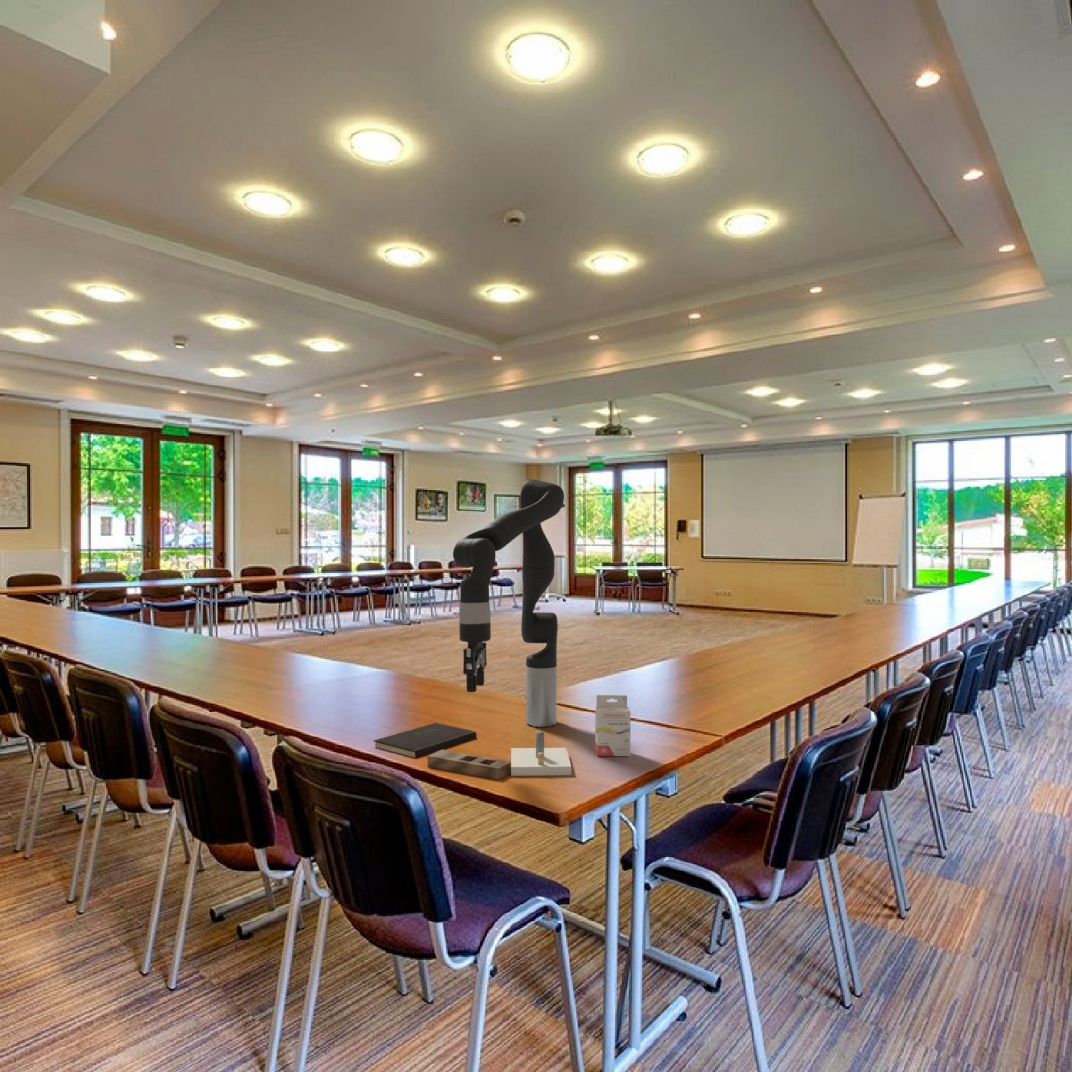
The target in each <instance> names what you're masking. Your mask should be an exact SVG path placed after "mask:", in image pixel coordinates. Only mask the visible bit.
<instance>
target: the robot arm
mask: <svg viewBox="0 0 1072 1072" xmlns="http://www.w3.org/2000/svg"><path fill="white" fill-rule="evenodd" d="M519 495H520V496H519V505H520V509H516V510H512V511H508V512H506V513H504V514H501V515H499V516H497V517H496V518H495V519H493V520H492V521H491V522H489V523H487V525H485V526H484V527H483V528H481V529H478V530H476V531H474V532H472V533H470V534H467V535H465V536H464V537H462V538H461V539H459V540H458V541H457V542H456V544H455V545H454V547H453V551H452V558H453V561H454V562H455V563H456V565H458V567H462V568H472V571H471V572H470V573H471V574H470V576H469V577H466V578H463V579H462V580H461V581H460V583H459V584H460V585H459V597H460V598H459V600H460V604H459V609H458V610H459V612H458V613H459V615H458V616H459V620H458V621H459V622H458V623H459V625H458V626H459V627H458V628H459V629H458V630H459V631H458V632H459V640H460V641H461V642H465V643H467V648H466V647H465V648H463V651H462V652H463V669H462V671H463V672H462V673H463V675H465V677H466V691H467V692H468V693H475V692H477V687H480V686H481V687H482V686H484V685H485V670H486V667H487V665H488V663H487V661H488V660H487V642H488V641H491V637H492V636H491V635H492V634H491V632H492V631H491V629H492V627H491V625H492V624H491V623H492V622H491V606H490V582H491V581H492V580H491V579H492V575H493V572H494V567H495V563H496V562H495V561H496V555H497V554H496V552H498V551H501V550H503V548H505V547H506V546H507V545H509V544H510V543H511V542H512V541H513V540H515V539H516V538H517V537H518V536H520V535H522V593H523V594H522V611H521V626H520V627H521V638H522V640H523V642H525V643H527V644H546V645H545V647H543V648H542V649H541V650H539V651H537V652H534V653H531V654H529V655H527V656H526V660H525V665H526V666H525V670H526V671H525V675H526V677H525V680H526V681H525V724H526V723H527V725H528V724H529V725H528V726H530V725H532V726H531V727H536V726H537V727H538V728H541V727H542V728H545V727H546V726H547V727H552V725H553V726H555V725H557V723H558V722H557V717H558V715H557V713H558V712H557V711H558V709H557V708H558V707H557V706H558V702H557V701H558V698H557V697H558V692H557V691H558V690H557V689H558V688H557V687H558V683H557V682H558V677H557V676H558V675H557V674H558V671H557V669H558V666H557V665H558V661H557V659H558V658H557V657H558V656H557V655H558V653H557V649H558V648H557V647H558V646H557V645H558V631H559V630H558V629H559V628H558V627H559V622H558V616H557V614H556V613H554V612H536V611H535V612H534V610H535V607H536V605H537V603H538V601H539V600H540V599H541V597H542V595H543V594H544V593H545V592H546V590H547V589H548V588H549V586H550V585H551V583H552V581H553V580H554V577H555V566H556V565H555V561H556V559H555V553H554V550H553V548H552V545H551V544H550V541H549V539H548V538H547V535H546V534H545V532H544V529H543V526H542V525H541V524H542V523H543V522H546V521H548V520H549V519H551V518H553V517H555V516H556V515H557V514H558V513H559V512H560V511H561V509H562V508H563V505H564V502H565V493H564V490H563V488H562V486H560V485H558V484H555V483H552V482H548V481H547V482H546V481H545V480H539V479H535V478H534V479H532V478H530V479H527V480H526V481H525V482H524V483H523V484H522V486H521V490H520V494H519Z"/></svg>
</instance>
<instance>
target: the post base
mask: <svg viewBox="0 0 1072 1072" xmlns="http://www.w3.org/2000/svg"><path fill="white" fill-rule="evenodd" d="M567 749H568V748H567V747H545V732H544V731H542V730H540V731H539V730H537V731H536V732H535V747H511V748H510V753H511V754H510V756H511V757H510V761H511V773H510V776H513V777H514V776H515V777H517V776H521V777H523V776H527V777H529V776H534V777H535V776H537V777H538V776H572V765H571V764H572V763H571V760H570V756H569V752H568V750H567Z"/></svg>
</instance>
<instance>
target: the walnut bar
mask: <svg viewBox="0 0 1072 1072" xmlns="http://www.w3.org/2000/svg"><path fill="white" fill-rule="evenodd" d="M427 767H430V768H435V769H439V770H446V771H451V772H457V773H461V774H467V775H473V776H476V777H477V776H478V777H482V778H487V779H494V780H500V779H502V778H504V777H505V776H507V775H509V774H511V760H504V759H498V758H493V757H487V756H481V755H476V754H475V755H474V754H469V753H463V752H457V751H453V750H448V749H447V750H446V749H442V750H439V751H436V752H433V753H430V754H427Z"/></svg>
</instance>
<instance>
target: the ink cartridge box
mask: <svg viewBox="0 0 1072 1072" xmlns="http://www.w3.org/2000/svg"><path fill="white" fill-rule="evenodd" d="M611 699H612V700H615V701H609V700H611ZM594 722H595V730H594V731H595V732H594V733H595V734H594V738H595V739H594V752H595V754H596V756H597V757H598V756H631V709H630V708H629V707H628V695H626V694H625V695H624V694H623V695H622V694H621V695H620V694H617V695H616V694H602V695H601V694H597V695H596V705H595V721H594Z"/></svg>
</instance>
